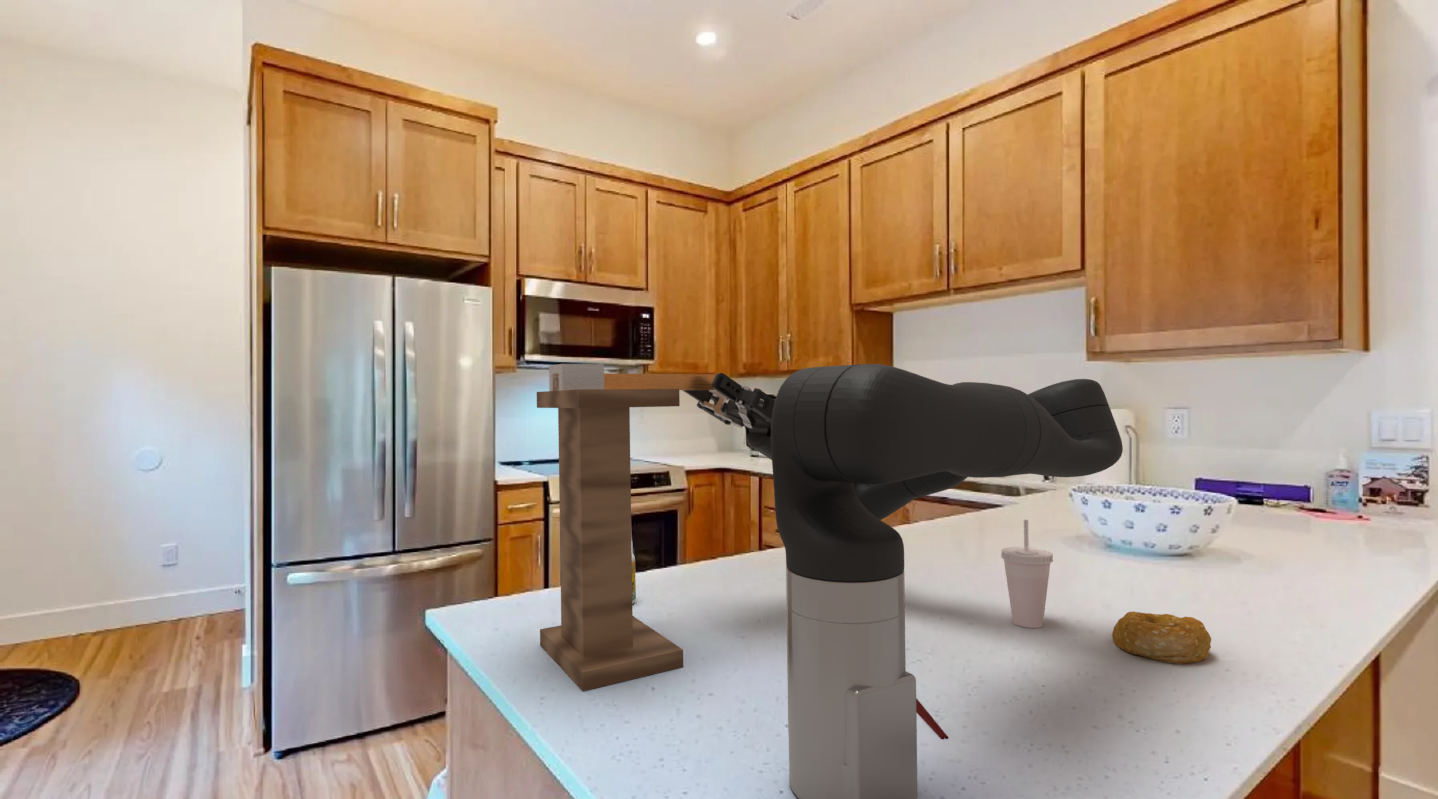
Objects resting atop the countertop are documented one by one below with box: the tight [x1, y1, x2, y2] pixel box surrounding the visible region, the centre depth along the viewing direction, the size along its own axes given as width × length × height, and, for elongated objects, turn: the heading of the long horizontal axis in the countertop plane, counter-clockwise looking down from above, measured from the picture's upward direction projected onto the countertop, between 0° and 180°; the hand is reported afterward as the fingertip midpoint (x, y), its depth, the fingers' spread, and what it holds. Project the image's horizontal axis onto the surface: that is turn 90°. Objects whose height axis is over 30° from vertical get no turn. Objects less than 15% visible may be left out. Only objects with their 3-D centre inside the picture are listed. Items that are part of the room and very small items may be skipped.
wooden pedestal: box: [536, 389, 684, 692], centre depth 81 cm, size 16×12×32 cm
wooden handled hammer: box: [548, 363, 717, 391], centre depth 84 cm, size 5×22×3 cm, turn 121°
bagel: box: [1111, 611, 1212, 665], centre depth 81 cm, size 10×11×5 cm
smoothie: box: [1000, 519, 1054, 629], centre depth 91 cm, size 6×6×14 cm
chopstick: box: [916, 697, 949, 740], centre depth 72 cm, size 2×24×1 cm, turn 7°
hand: (699, 380), depth 88 cm, fingers open, 8 cm apart
